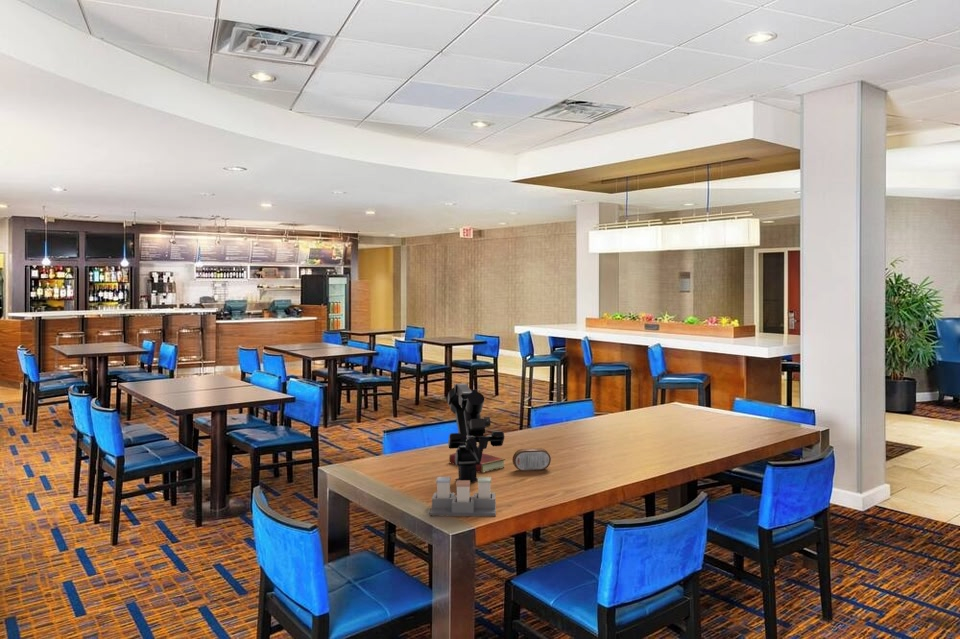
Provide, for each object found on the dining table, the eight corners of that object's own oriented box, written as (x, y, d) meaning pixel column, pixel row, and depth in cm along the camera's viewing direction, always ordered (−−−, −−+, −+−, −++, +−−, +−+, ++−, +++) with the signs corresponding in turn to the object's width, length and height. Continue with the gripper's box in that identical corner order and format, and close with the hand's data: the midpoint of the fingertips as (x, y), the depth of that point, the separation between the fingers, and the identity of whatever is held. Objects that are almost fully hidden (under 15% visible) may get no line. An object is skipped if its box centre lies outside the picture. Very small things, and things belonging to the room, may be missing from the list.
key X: (457, 502, 209) (457, 480, 209) (470, 502, 209) (470, 480, 209) (456, 506, 205) (456, 484, 205) (469, 506, 205) (469, 484, 205)
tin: (549, 468, 260) (549, 447, 259) (551, 470, 257) (551, 449, 256) (512, 470, 257) (512, 448, 257) (514, 472, 254) (513, 450, 254)
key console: (433, 504, 215) (433, 492, 215) (496, 504, 214) (495, 492, 214) (429, 515, 204) (429, 503, 204) (495, 516, 203) (495, 503, 203)
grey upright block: (437, 498, 213) (437, 476, 213) (450, 498, 213) (450, 476, 213) (436, 502, 209) (436, 480, 209) (449, 502, 209) (449, 480, 209)
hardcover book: (482, 474, 253) (482, 463, 253) (449, 463, 269) (449, 453, 269) (505, 468, 261) (505, 458, 261) (472, 458, 277) (471, 448, 277)
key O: (478, 498, 213) (478, 476, 213) (491, 498, 213) (491, 476, 213) (477, 502, 209) (477, 480, 209) (490, 502, 209) (490, 480, 208)
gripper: (449, 409, 221) (454, 449, 211) (503, 407, 225) (510, 446, 214) (446, 428, 229) (450, 467, 219) (498, 426, 233) (505, 464, 222)
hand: (479, 461), depth 218 cm, fingers closed
